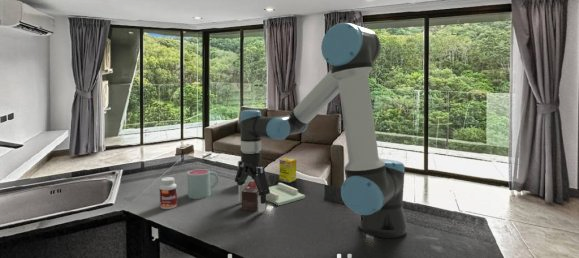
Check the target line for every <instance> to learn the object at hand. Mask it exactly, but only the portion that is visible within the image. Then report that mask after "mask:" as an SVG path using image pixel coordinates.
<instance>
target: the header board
mask: <svg viewBox="0 0 579 258" xmlns="http://www.w3.org/2000/svg"><path fill="white" fill-rule="evenodd" d="M268 187H269V190H270V193H269V194H266V202H270V203H271V204H273V203H274V204H273V205H275V204H276V206H277V205H278V206H277V207H280V206H283V205H286V204H290V203H292V202H297V201H299V200H303V199H305V198H306V195H305V194H302V193H300V192H299V189H297V188H295V187H293V186H290V185H289V184H286V183H284V182H278V183H277V184H275V185H272V186H268ZM266 191H267V190H266ZM279 205H280V206H279Z"/></svg>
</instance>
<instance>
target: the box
mask: <svg viewBox="0 0 579 258" xmlns="http://www.w3.org/2000/svg"><path fill="white" fill-rule="evenodd" d="M258 195H259V191H258V189H257V186H256V187H245V189H244V190H243V191H242V201H241V210H242V211H252V212H258Z"/></svg>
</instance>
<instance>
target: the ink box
mask: <svg viewBox="0 0 579 258" xmlns="http://www.w3.org/2000/svg"><path fill="white" fill-rule="evenodd" d="M239 161H241V159H239V160H238V161H237V168H238V167H239ZM238 179H239V178H238ZM244 184H245V188H246V187H257V186H256V184H255V182H254V179H252V177H250V176H249V175H248V177H247V179H246V181H245V183H244Z"/></svg>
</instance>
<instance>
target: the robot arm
mask: <svg viewBox="0 0 579 258" xmlns="http://www.w3.org/2000/svg"><path fill="white" fill-rule="evenodd" d="M381 45H382V44H381V41H380V38H379V37H378V35H377V34H376V32H374V31H373V30H371V29H370V28H366V27H362V26H358V25H357V24H355V23H350V22H340V23H337V24H334V25H333V26H331V27H330V28H329V29H328V30H327V31H326V33H325V35H324V36H323V38H322V40H321V47H320V49H321V55H322V57H323V59H324V60H325V61H326V62H327V63H328V65H330V70H329V72H327V74H326V75H324V77H323V78H322V79H321V80H320V81H319V82H318V83H317V84H316V85H315V86H314V87H313V88H312V89H311V91H309V93H307V94H306V95H305V96H304V98H303V99H302V100H301V101H299V103H298V104H297V105H296V106H295V107H294V109H293V110H292V111H290V113H288V114H287V115H278V116H262V112H261V110H259V109H244V110H241V112H240V120H239V125H240V151H241V153H240V160H241V161H240V160H238V161H239V167H238V166H237V171H236V175H235V177H234V178H235V179H234V182H235V183H236V185H238V186H237V189H238V202H241V203H242V191H243V190H244V189H245V188H246V187H245V184H244V183H245V181H246V179H247V177H248V175H249V176H250V177H252V179H254V182H255V184H256V187H257V189H258V191H259V195H258V210H257V213H263V212H266V210H267V209H266V203H267V200H266V194H269V193H270V190H269V187H270V186H269V184H268V180H267V177H266V173H265V171H266V169H265V167H264V166H261V167H260V162H262V152H261V151H262V138H263V139H270V140H274V141H278V140H279V141H280V140H281V141H282V140H283V141H284V140H285V139H287V137H288V136H292V135H298V134H301V133H303V132H305V131H306V130H307V129H308V126H309V123H310V122H311V121H312V120H313V119H314V118H315V117H316V116H317V115H318V114H320V112H321V111H322V110H324V109H325V107H326V106H327V105H328V104H330V102H331V101H332V100H333V99H335V98H336V97H337V95H339V98H340V105H341V107H340V108H341V113H342V114H341V115H342V121H343V127H344V135H345V143H346V151H347V159H348V162H347V163H346V165H345V166H344V167H343V168H344V174H345V176H344V177H345V179H344V181H343V183H342V184H341V187H340V196H341V199H342V202H343V203H344V205H345V206H346V207H347V208H349V210H350V211H352V212H353V213H355V214H357V215H360V217H359V222H358V223H359V225H358V226H359V229H360V230H361V231H363V232H364V233H366V234H368V235H370V236H373V237H378V238H383V239H396V238H400V237H403V236H405V235H406V234H407V233H408V232H407V229H408V224H407V220H406V216H405V213H404V209H403V203H404V202H403V201H404V200H403V199H404V187H405V186H404V183H405V174H406V171H405V165H404V163H403V162H401V161H398V160H394V159H388V158H387V159H385V158H380V157H379V151H378V143H377V134H376V128H375V127H376V126H375V120H374V112H373V105H372V103H373V102H372V97H371V90H370V82H369V74H370V73H371V71H372V70H373V65H374V64H375V63H376V61H377V59H379V56H380V54H381ZM238 178H239V179H238ZM266 190H267V191H266Z"/></svg>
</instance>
